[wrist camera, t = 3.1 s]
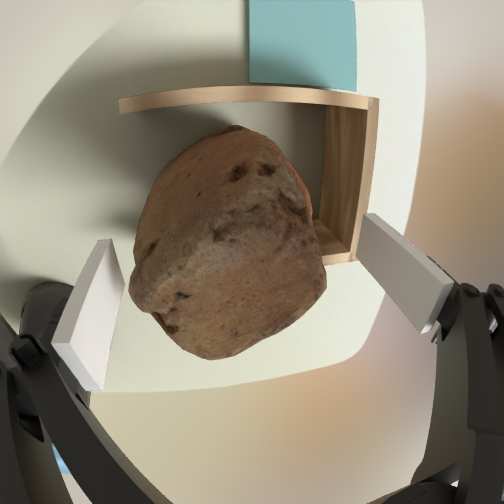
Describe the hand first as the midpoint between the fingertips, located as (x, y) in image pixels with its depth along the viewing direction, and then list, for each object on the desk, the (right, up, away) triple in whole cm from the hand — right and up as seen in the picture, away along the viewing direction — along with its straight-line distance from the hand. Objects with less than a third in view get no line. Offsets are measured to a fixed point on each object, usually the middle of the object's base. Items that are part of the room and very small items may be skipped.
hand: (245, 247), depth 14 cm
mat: (+6, +22, +8) cm, 24 cm away
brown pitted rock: (-4, +8, +14) cm, 17 cm away
